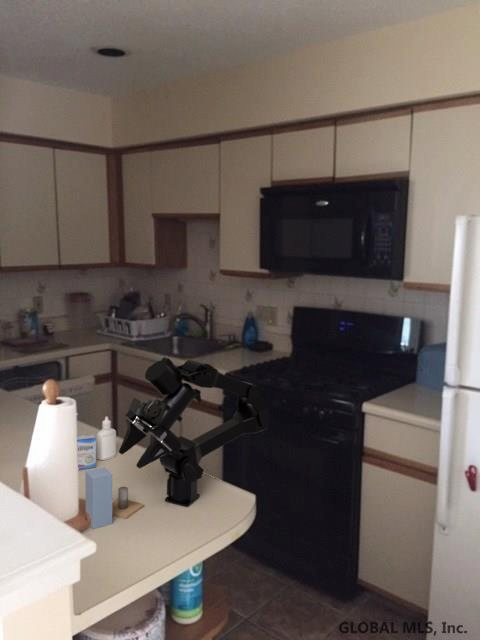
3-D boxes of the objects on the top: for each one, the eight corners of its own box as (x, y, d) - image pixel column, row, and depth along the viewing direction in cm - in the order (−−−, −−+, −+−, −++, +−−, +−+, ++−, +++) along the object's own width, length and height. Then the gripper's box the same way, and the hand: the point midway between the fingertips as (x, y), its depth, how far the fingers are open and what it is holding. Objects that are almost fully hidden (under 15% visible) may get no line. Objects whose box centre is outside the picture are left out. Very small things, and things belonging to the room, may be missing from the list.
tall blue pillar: (104, 515, 129) (104, 467, 127) (112, 523, 125) (112, 474, 124) (85, 520, 126) (85, 471, 125) (93, 529, 123) (92, 478, 121)
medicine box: (66, 472, 151) (66, 441, 150) (63, 466, 155) (63, 435, 154) (96, 468, 155) (96, 437, 153) (92, 462, 158) (92, 432, 157)
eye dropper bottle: (118, 458, 161) (118, 418, 159) (97, 461, 159) (97, 420, 157) (114, 453, 165) (115, 413, 163) (95, 455, 163) (95, 415, 161)
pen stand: (144, 506, 134) (144, 486, 133) (126, 519, 127) (126, 498, 127) (119, 499, 137) (119, 479, 136) (101, 511, 130) (101, 491, 130)
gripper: (133, 375, 136) (88, 427, 131) (171, 394, 121) (122, 454, 116) (161, 402, 142) (120, 453, 137) (201, 424, 127) (156, 482, 122)
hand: (128, 460), depth 128 cm, fingers open, 9 cm apart
